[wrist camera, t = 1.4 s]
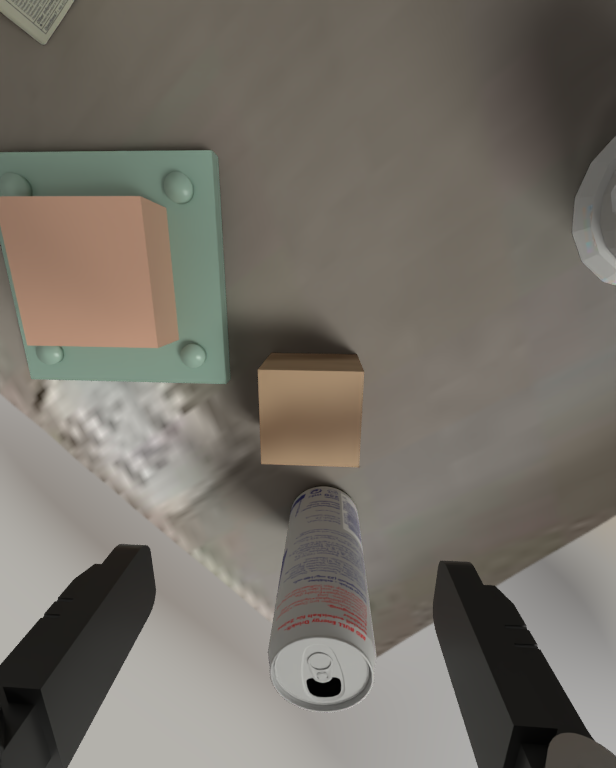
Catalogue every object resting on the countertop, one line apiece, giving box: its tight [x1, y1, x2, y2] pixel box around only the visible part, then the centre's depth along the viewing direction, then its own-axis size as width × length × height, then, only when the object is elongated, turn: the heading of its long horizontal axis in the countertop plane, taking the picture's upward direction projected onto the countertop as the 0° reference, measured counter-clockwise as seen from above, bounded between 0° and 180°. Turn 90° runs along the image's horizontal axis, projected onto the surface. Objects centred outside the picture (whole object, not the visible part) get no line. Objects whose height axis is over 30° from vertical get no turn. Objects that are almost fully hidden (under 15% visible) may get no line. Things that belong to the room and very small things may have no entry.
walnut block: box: [258, 353, 364, 467], centre depth 23 cm, size 6×6×5 cm
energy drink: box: [268, 486, 376, 713], centre depth 22 cm, size 5×5×12 cm
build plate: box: [0, 150, 231, 384], centre depth 21 cm, size 14×14×4 cm
